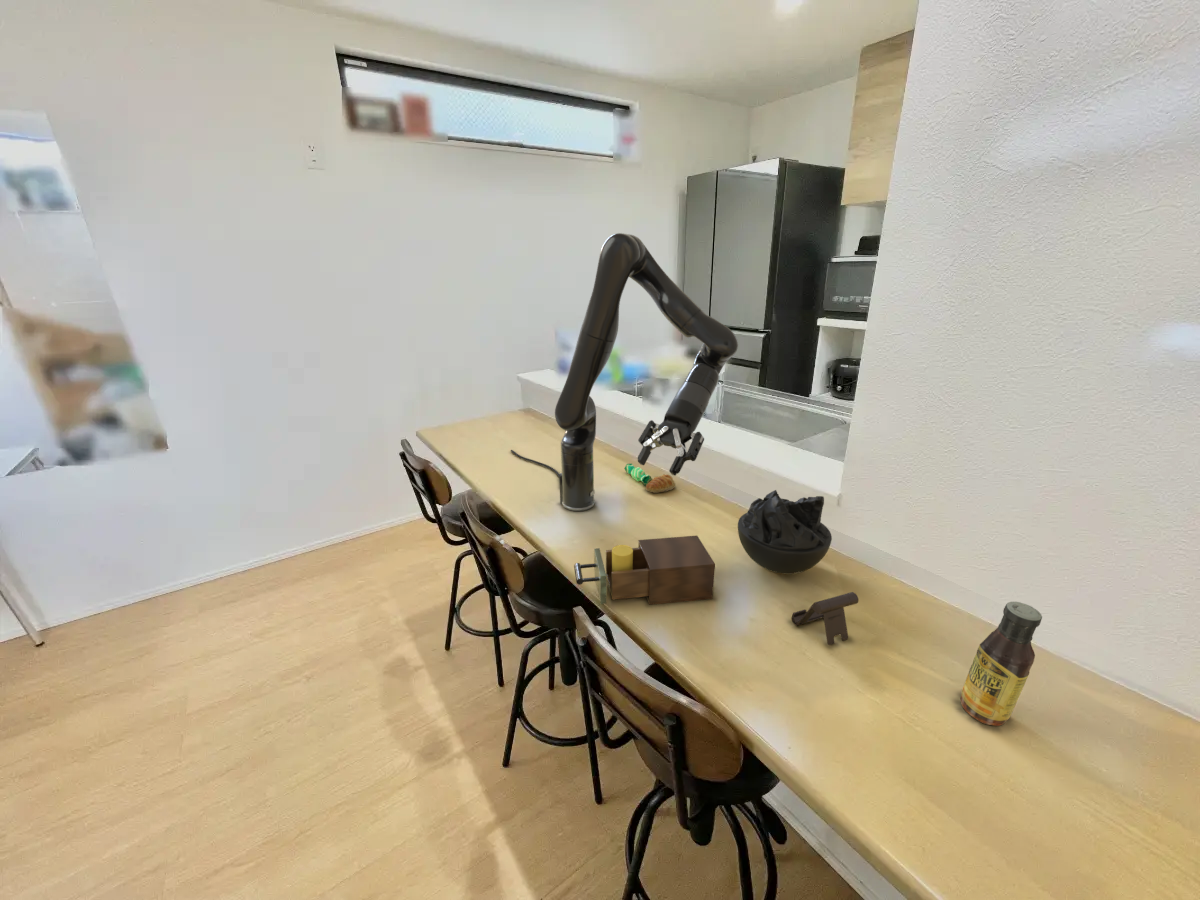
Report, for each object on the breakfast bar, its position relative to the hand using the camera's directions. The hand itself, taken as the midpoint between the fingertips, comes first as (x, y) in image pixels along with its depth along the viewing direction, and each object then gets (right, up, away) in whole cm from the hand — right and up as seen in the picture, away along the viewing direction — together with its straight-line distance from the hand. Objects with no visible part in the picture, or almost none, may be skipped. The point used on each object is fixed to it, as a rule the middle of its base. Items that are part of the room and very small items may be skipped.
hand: (655, 468), depth 107 cm
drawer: (-9, -26, -1) cm, 27 cm away
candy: (0, -6, +55) cm, 56 cm away
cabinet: (+4, -26, +1) cm, 26 cm away
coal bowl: (+29, -23, +8) cm, 38 cm away
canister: (-7, -24, -1) cm, 26 cm away
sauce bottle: (+48, -37, -30) cm, 68 cm away
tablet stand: (+31, -31, -12) cm, 45 cm away
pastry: (+7, -8, +48) cm, 50 cm away
